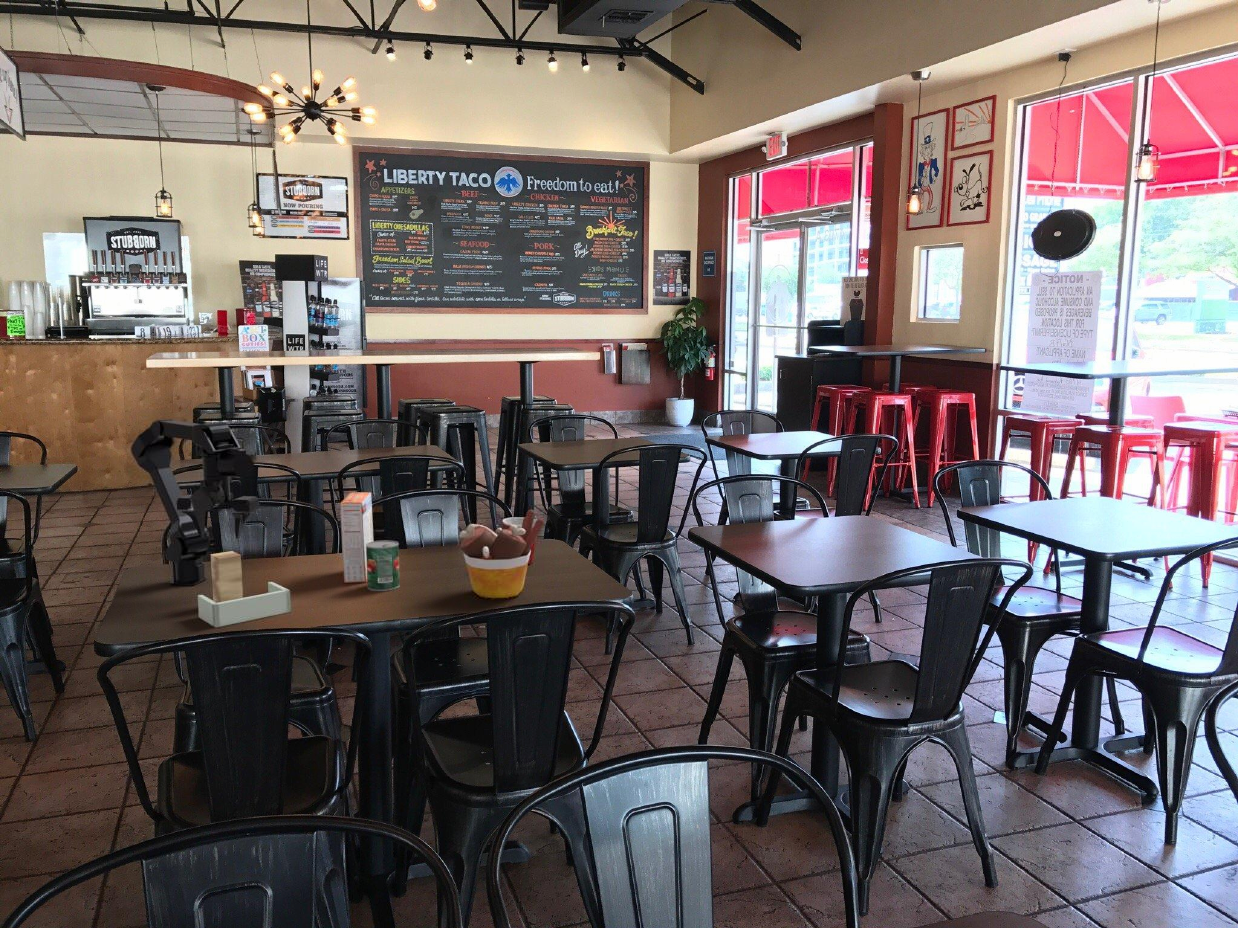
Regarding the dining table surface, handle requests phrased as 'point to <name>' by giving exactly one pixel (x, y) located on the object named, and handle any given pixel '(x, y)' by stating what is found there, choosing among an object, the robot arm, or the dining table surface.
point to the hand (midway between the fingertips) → (219, 537)
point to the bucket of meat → (499, 556)
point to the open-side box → (245, 607)
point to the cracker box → (356, 535)
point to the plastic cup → (518, 522)
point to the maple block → (226, 576)
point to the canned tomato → (382, 565)
